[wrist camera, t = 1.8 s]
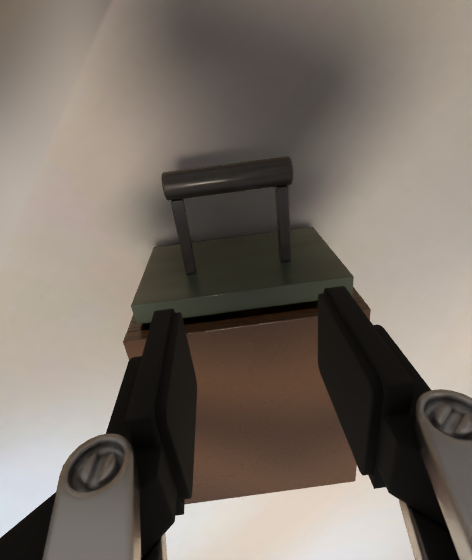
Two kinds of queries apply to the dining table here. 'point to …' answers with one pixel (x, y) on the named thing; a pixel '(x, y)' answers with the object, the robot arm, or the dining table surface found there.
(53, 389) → the dining table surface
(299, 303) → the drawer
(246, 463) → the cabinet
